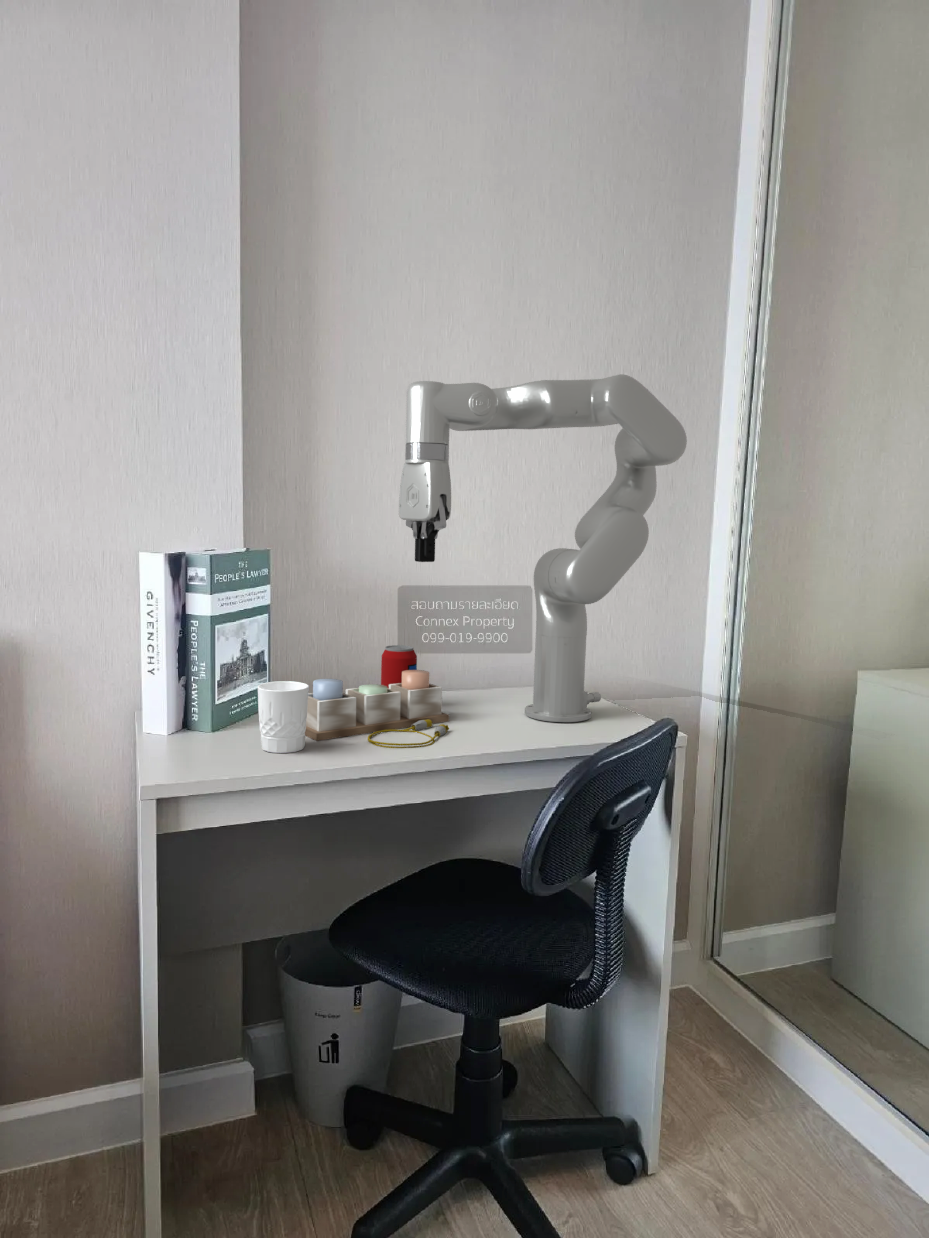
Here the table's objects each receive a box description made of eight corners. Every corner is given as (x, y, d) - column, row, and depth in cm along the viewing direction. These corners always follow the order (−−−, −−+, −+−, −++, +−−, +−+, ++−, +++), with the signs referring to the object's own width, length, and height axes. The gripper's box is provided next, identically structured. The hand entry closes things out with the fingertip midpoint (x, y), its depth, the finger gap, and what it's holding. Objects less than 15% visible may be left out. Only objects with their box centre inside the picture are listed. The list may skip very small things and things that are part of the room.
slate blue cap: (333, 705, 156) (333, 677, 156) (347, 711, 152) (348, 682, 152) (307, 709, 153) (307, 680, 153) (321, 714, 149) (321, 685, 149)
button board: (420, 711, 171) (421, 679, 170) (448, 721, 163) (449, 687, 163) (291, 729, 154) (291, 693, 153) (316, 740, 147) (316, 703, 146)
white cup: (308, 741, 147) (309, 681, 146) (307, 754, 139) (307, 690, 138) (259, 741, 146) (259, 681, 144) (255, 754, 138) (255, 690, 137)
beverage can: (420, 711, 170) (422, 649, 169) (386, 714, 168) (387, 650, 166) (409, 704, 177) (410, 644, 175) (376, 706, 174) (377, 645, 173)
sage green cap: (377, 710, 162) (377, 683, 161) (392, 715, 158) (392, 688, 158) (353, 713, 159) (353, 685, 158) (367, 719, 155) (368, 690, 154)
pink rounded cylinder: (418, 695, 167) (419, 668, 167) (434, 700, 163) (434, 673, 163) (396, 698, 164) (396, 671, 164) (411, 703, 160) (411, 675, 160)
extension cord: (469, 743, 150) (469, 732, 150) (384, 754, 142) (384, 742, 142) (433, 727, 160) (433, 716, 160) (352, 737, 152) (352, 725, 152)
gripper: (385, 455, 159) (383, 559, 161) (434, 452, 147) (431, 564, 149) (420, 458, 163) (418, 558, 166) (470, 455, 152) (467, 564, 154)
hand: (424, 561), depth 157 cm, fingers closed
